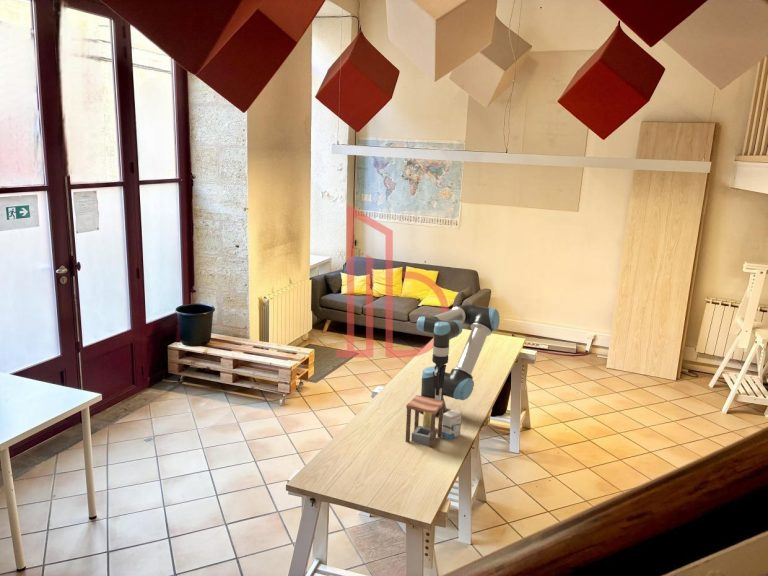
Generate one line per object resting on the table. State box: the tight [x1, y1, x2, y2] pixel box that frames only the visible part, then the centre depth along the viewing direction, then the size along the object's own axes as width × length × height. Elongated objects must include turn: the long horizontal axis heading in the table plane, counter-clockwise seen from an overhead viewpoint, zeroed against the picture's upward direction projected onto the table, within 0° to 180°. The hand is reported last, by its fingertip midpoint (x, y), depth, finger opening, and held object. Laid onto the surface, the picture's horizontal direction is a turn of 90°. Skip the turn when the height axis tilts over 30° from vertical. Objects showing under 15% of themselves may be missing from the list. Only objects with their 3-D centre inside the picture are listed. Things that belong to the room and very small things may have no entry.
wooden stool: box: [405, 395, 445, 449], centre depth 281 cm, size 13×14×18 cm
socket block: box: [410, 425, 437, 446], centre depth 283 cm, size 9×9×4 cm
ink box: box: [441, 409, 462, 440], centre depth 286 cm, size 9×5×12 cm, turn 135°
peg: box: [422, 412, 432, 428], centre depth 294 cm, size 4×4×14 cm
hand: (437, 400), depth 289 cm, fingers closed
